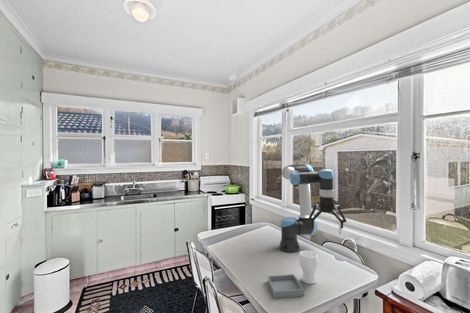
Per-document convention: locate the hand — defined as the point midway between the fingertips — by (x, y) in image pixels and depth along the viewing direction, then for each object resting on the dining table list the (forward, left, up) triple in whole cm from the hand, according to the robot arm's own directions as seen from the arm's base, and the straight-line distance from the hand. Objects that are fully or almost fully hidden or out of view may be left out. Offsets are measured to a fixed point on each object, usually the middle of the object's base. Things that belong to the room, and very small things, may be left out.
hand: (327, 232), depth 131 cm
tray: (+7, -28, -26) cm, 39 cm away
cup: (+1, -12, -26) cm, 29 cm away
